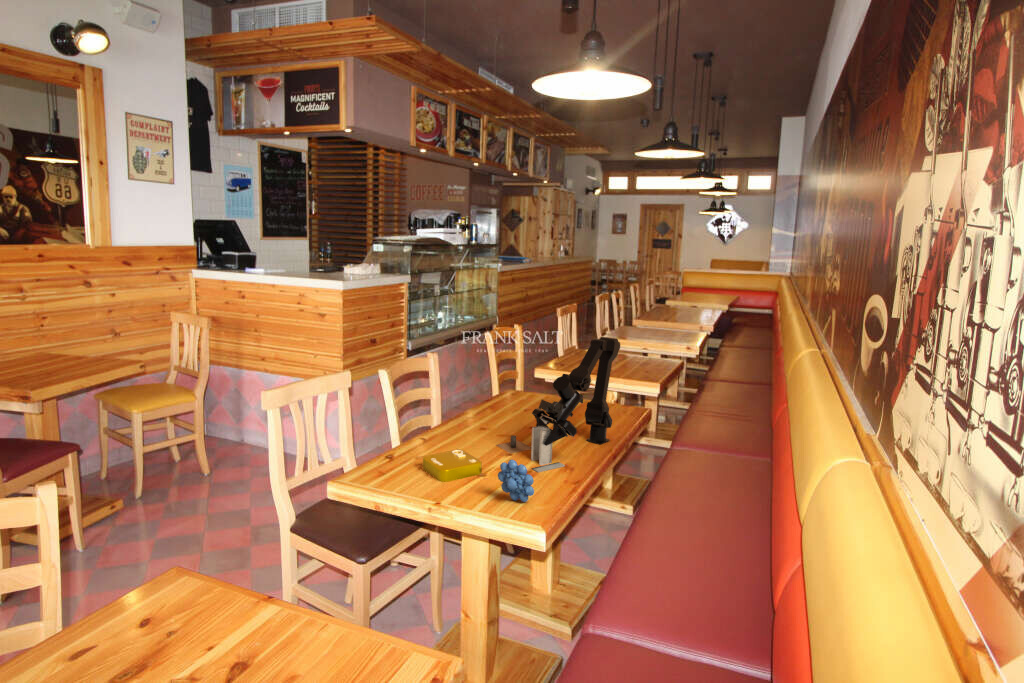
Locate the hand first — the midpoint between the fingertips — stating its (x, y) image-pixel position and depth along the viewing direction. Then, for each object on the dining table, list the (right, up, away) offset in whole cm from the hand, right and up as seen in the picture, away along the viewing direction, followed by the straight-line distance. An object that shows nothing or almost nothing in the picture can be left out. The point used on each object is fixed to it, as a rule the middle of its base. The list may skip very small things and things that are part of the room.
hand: (539, 442), depth 202 cm
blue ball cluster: (-8, -13, -28) cm, 32 cm away
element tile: (-28, -9, -5) cm, 30 cm away
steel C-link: (+1, -7, +2) cm, 8 cm away
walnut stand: (-8, -5, +16) cm, 18 cm away
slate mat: (+1, -8, +2) cm, 8 cm away
